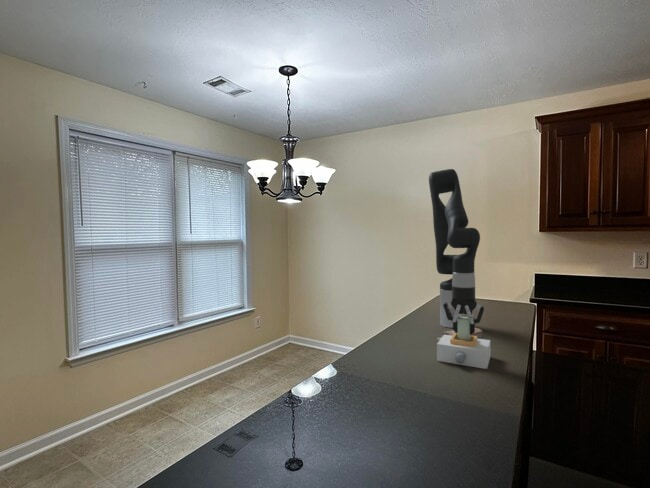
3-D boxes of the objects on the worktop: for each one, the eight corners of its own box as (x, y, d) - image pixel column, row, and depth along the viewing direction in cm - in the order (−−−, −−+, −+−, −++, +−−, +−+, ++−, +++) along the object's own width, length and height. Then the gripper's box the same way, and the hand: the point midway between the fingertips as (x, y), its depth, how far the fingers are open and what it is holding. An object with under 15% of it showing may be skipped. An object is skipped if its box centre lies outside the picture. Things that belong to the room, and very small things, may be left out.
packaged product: (468, 324, 153) (488, 330, 144) (468, 335, 153) (488, 341, 144) (436, 330, 145) (455, 337, 136) (436, 341, 145) (455, 349, 136)
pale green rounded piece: (458, 340, 128) (458, 316, 128) (471, 342, 126) (471, 317, 125) (456, 344, 124) (456, 319, 124) (469, 346, 122) (469, 320, 122)
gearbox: (444, 350, 135) (443, 330, 134) (490, 356, 127) (490, 336, 126) (435, 363, 122) (434, 342, 121) (486, 372, 114) (486, 349, 113)
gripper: (487, 284, 124) (487, 332, 125) (444, 282, 131) (445, 327, 132) (484, 288, 117) (484, 339, 118) (440, 285, 124) (440, 333, 125)
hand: (463, 332), depth 125 cm, fingers closed on pale green rounded piece, 4 cm apart
